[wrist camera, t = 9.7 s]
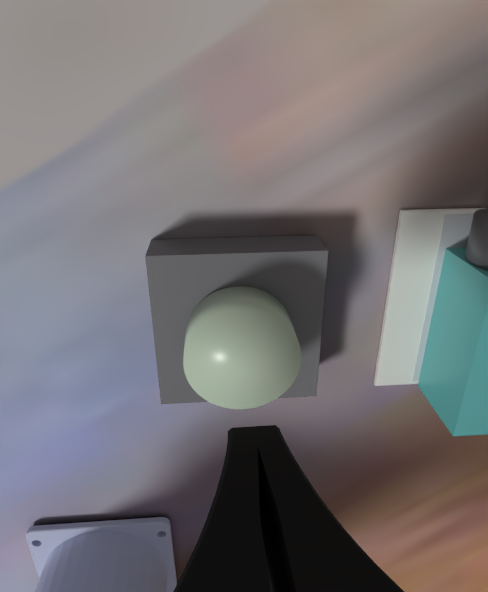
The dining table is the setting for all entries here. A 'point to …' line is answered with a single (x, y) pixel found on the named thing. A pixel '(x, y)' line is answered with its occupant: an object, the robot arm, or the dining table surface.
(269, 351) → the button
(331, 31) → the dining table surface
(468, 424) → the teal capped block
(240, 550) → the robot arm
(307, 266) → the button base
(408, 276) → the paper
